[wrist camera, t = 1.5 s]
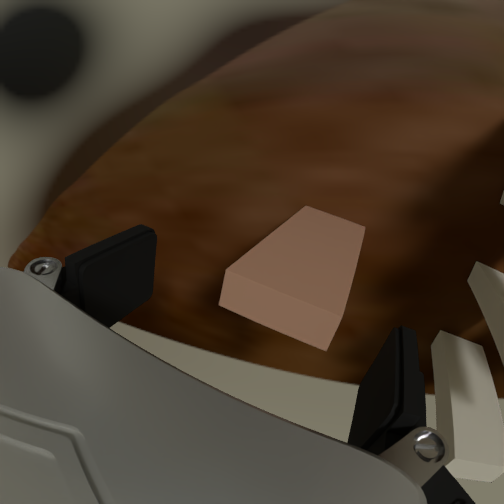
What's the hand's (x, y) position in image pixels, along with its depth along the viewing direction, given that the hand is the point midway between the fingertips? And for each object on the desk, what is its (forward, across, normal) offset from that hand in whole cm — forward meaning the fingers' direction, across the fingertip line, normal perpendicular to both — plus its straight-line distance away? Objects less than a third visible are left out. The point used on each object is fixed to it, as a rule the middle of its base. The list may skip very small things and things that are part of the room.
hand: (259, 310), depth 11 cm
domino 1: (+12, -1, 0) cm, 12 cm away
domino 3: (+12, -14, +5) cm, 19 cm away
